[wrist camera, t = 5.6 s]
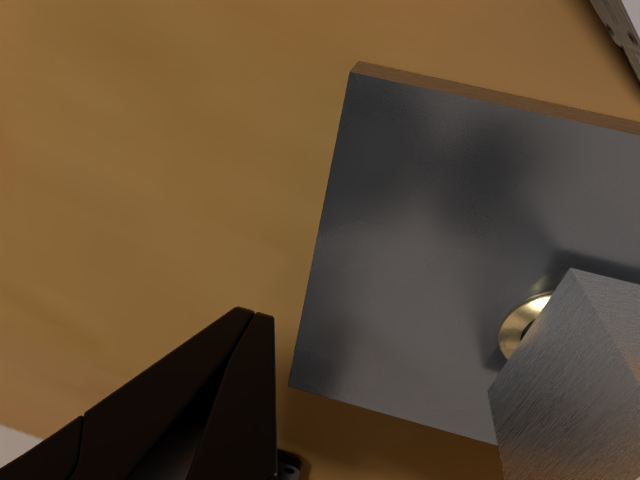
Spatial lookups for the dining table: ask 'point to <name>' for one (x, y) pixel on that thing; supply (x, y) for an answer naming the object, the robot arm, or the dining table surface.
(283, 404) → the dining table surface
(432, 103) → the plate
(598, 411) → the block
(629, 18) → the caliper
